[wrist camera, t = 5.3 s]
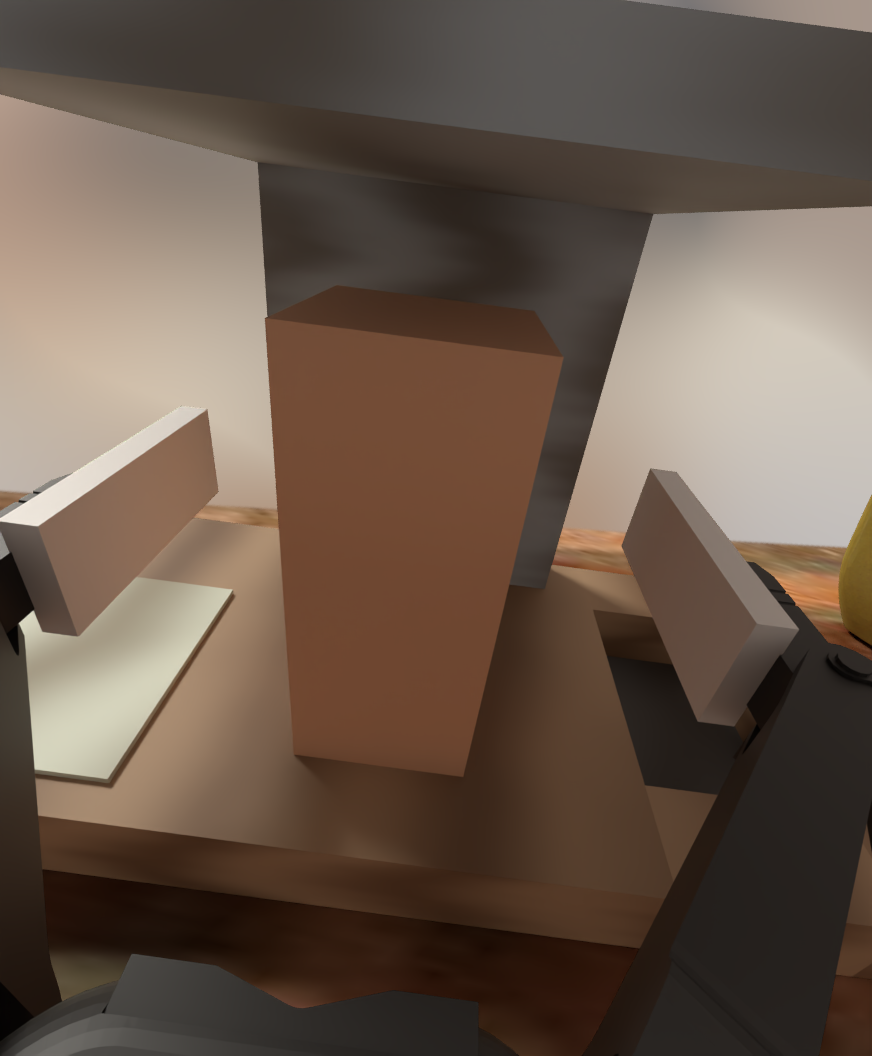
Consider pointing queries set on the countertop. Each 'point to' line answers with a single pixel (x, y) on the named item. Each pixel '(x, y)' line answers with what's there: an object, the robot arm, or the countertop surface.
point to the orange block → (400, 511)
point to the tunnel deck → (402, 821)
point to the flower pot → (858, 580)
